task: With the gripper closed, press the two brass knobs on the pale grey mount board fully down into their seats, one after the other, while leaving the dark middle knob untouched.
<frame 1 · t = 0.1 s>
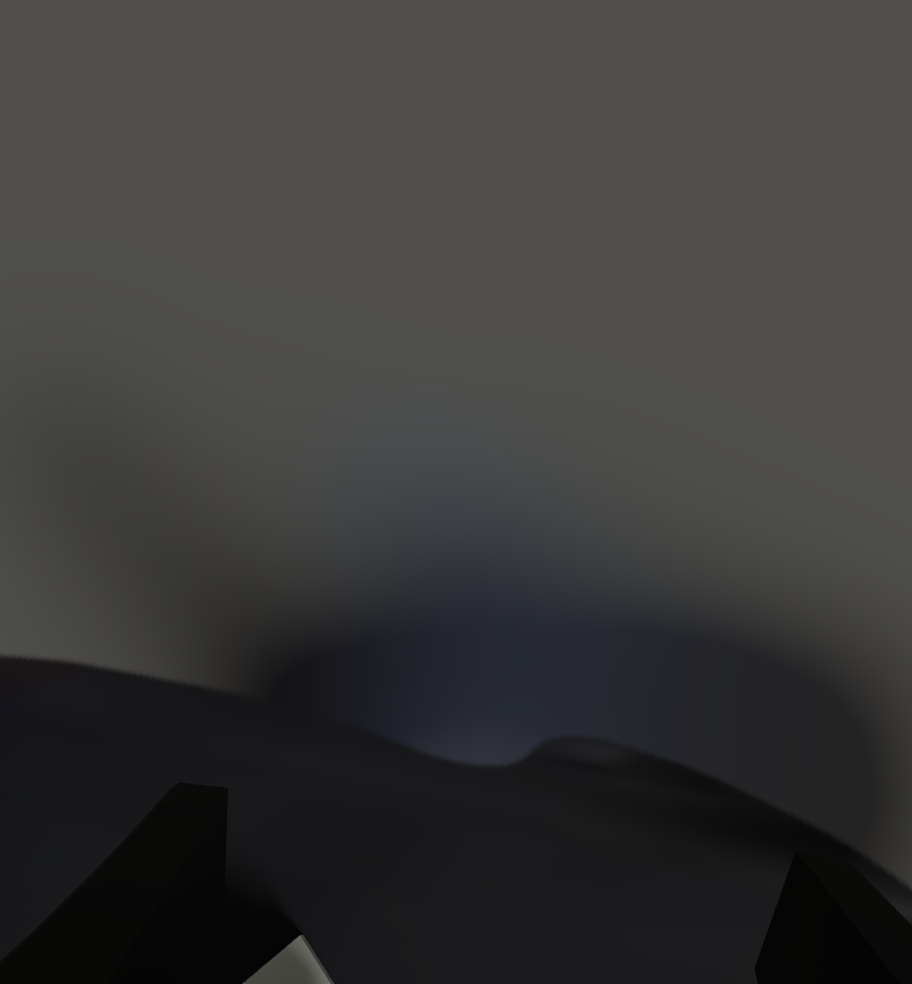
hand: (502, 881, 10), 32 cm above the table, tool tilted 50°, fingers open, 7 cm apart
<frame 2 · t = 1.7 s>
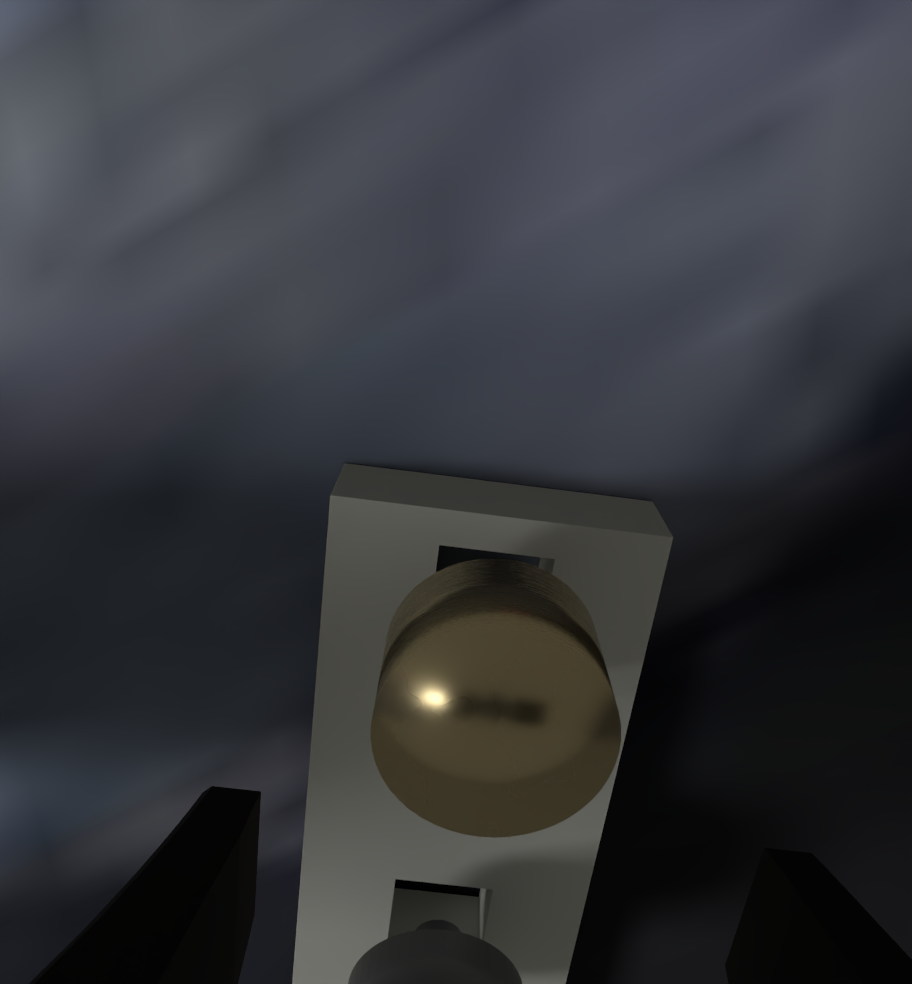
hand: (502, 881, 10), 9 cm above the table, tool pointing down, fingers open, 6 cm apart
brass knob 1: (492, 669, 15), point 5 cm above the table, slide at 0.0 cm
mount board: (441, 859, 22), on the table
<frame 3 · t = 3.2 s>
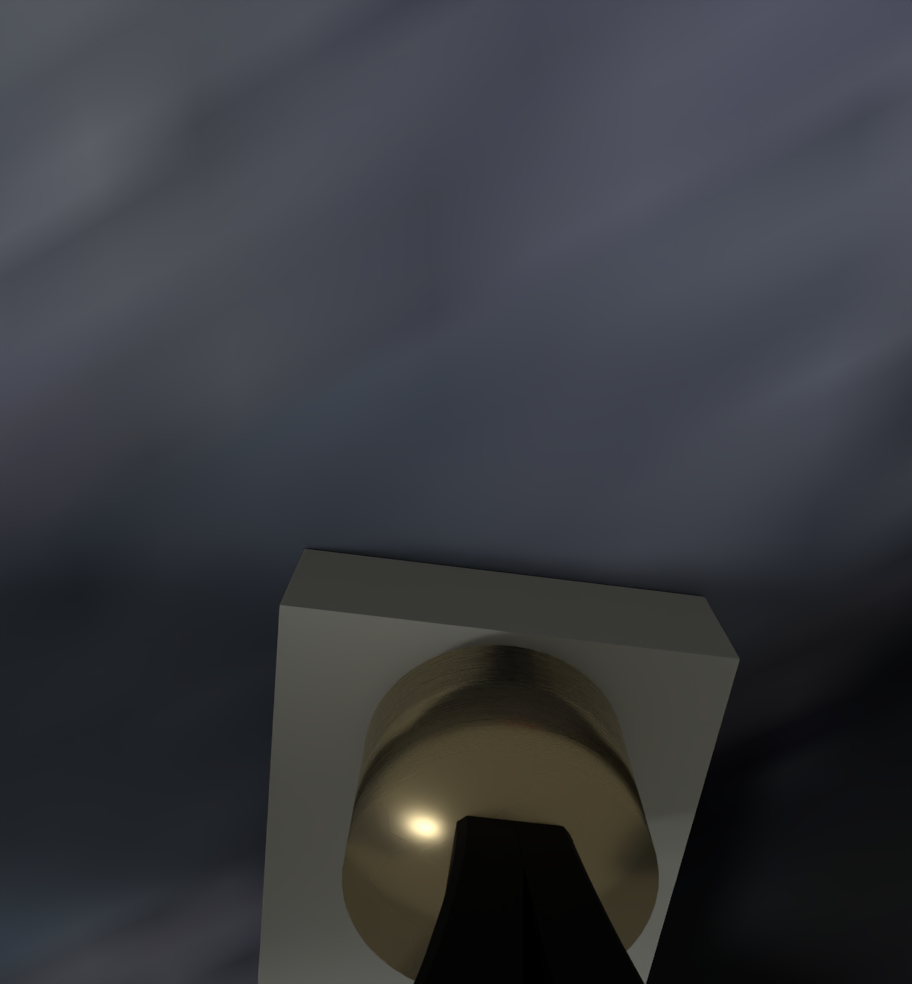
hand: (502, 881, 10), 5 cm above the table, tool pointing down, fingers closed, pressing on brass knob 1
brass knob 1: (494, 779, 12), point 3 cm above the table, slide at 1.6 cm, touching gripper
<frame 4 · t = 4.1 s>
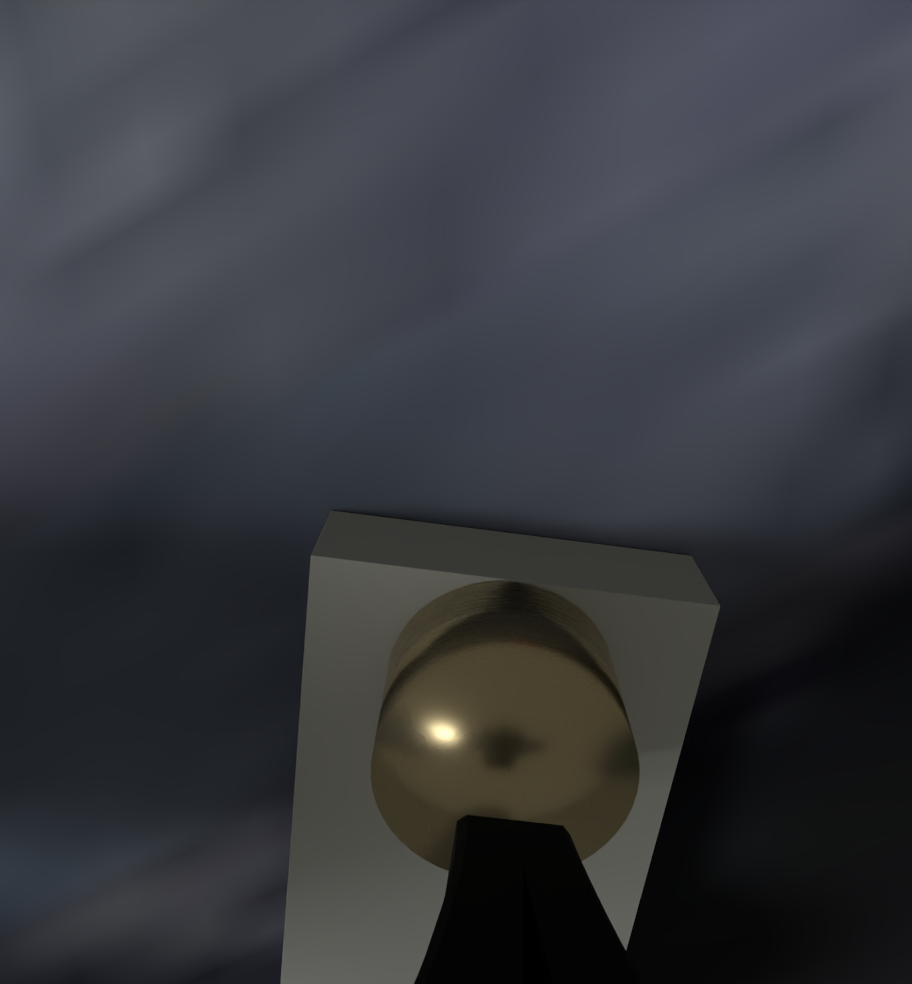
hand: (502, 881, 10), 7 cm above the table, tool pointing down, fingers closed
brass knob 1: (500, 699, 14), point 3 cm above the table, slide at 1.9 cm
mount board: (442, 950, 20), on the table
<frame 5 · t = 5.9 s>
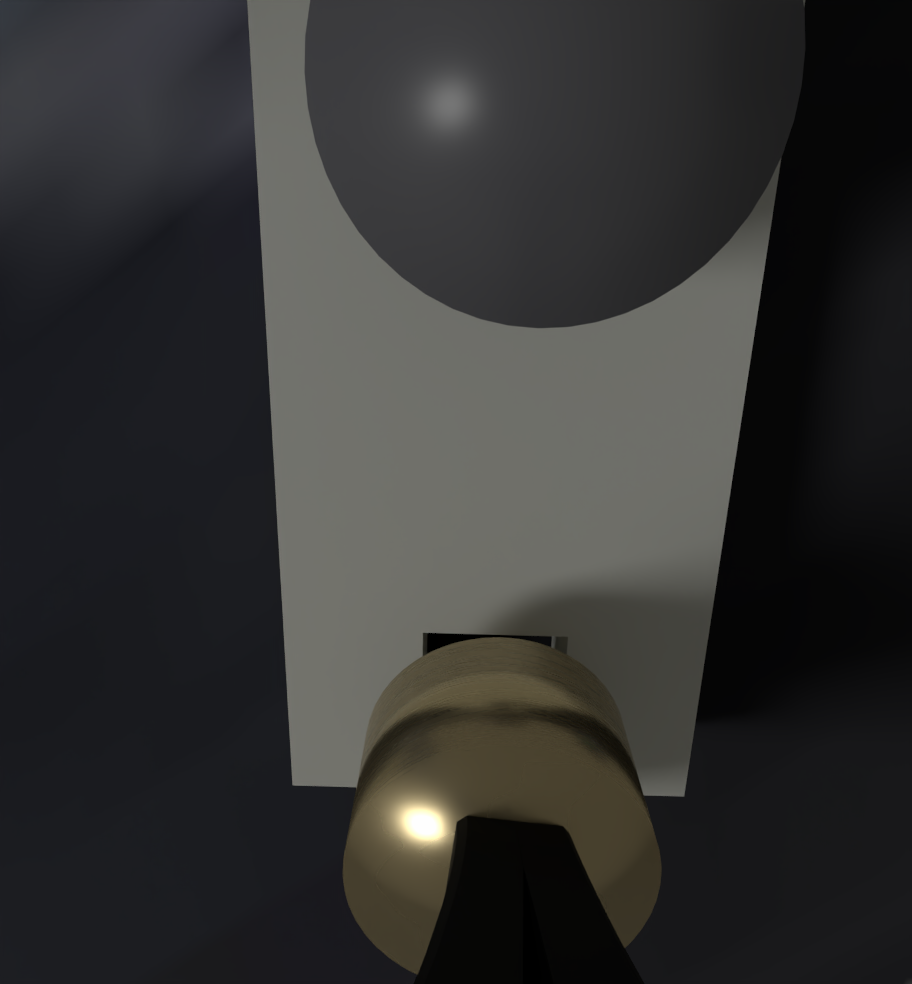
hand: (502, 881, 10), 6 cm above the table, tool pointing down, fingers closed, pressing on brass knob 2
brass knob 2: (496, 772, 12), point 4 cm above the table, slide at 0.6 cm, touching gripper
mount board: (512, 125, 13), on the table
graphite knob: (534, 100, 9), point 5 cm above the table, slide at 0.0 cm
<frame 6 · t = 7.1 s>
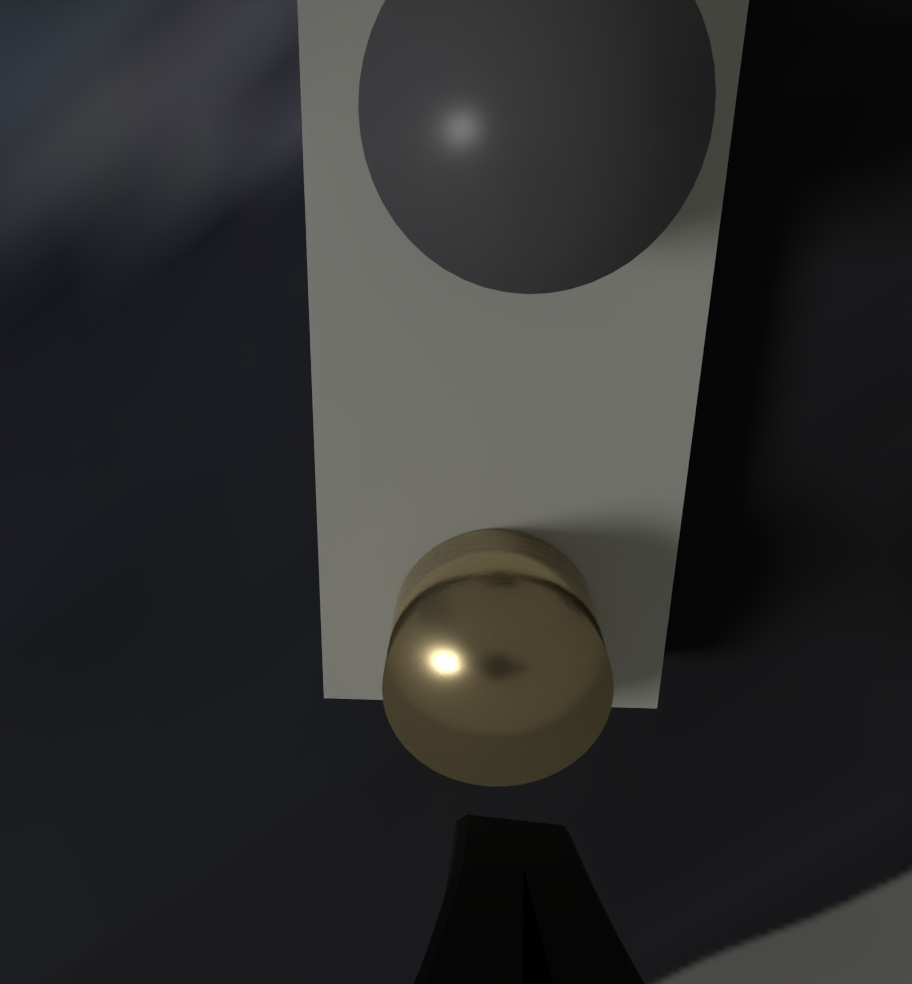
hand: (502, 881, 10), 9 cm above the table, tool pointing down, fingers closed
brass knob 2: (494, 633, 16), point 3 cm above the table, slide at 1.9 cm
mount board: (510, 139, 15), on the table
graphite knob: (525, 124, 11), point 5 cm above the table, slide at 0.0 cm
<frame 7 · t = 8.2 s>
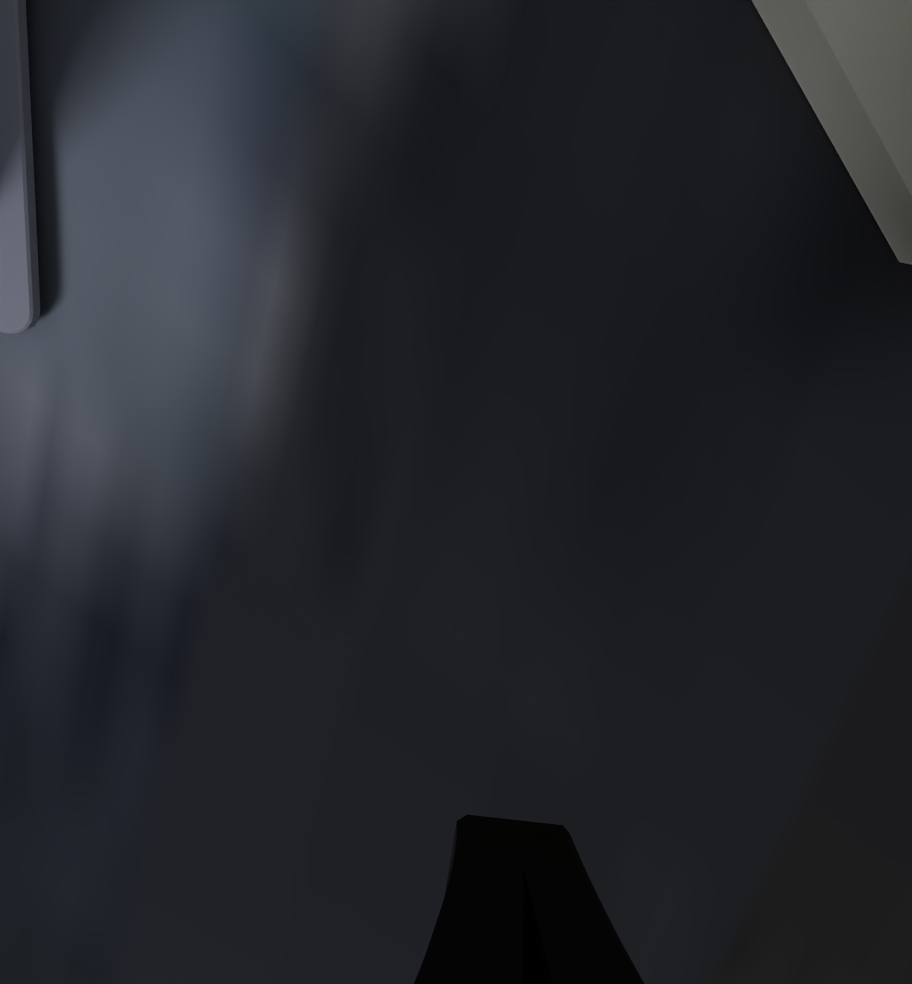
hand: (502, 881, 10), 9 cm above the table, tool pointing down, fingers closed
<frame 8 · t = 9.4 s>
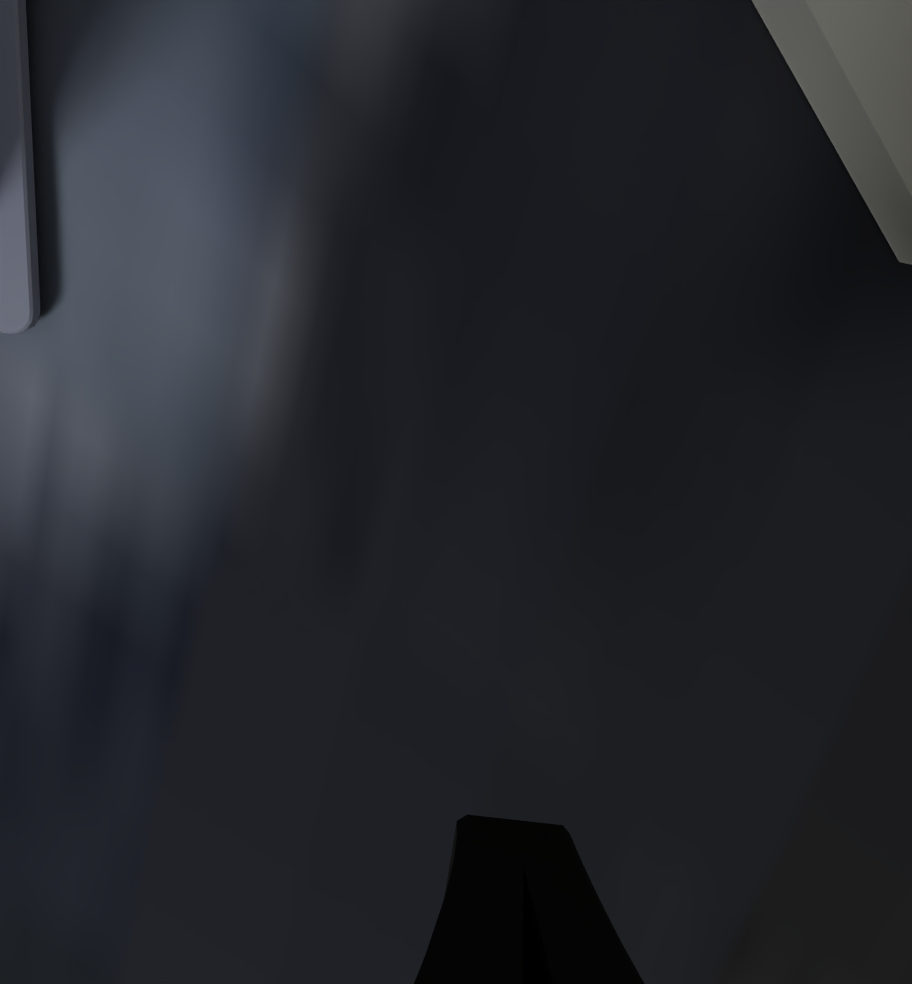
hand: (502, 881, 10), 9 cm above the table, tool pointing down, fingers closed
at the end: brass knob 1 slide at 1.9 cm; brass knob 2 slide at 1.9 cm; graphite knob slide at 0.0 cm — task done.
